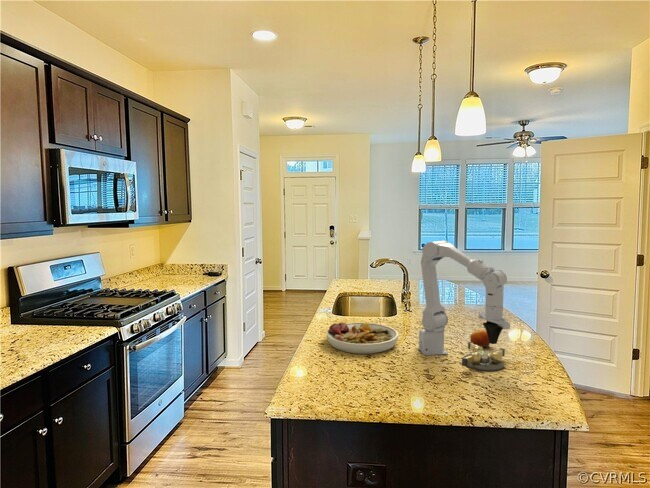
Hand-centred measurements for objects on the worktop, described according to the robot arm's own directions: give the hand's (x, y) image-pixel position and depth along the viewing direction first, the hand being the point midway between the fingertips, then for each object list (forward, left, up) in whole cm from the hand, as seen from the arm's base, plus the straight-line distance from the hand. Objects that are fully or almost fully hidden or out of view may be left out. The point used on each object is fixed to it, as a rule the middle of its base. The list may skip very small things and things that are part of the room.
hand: (493, 343), depth 145 cm
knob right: (+5, +5, -8) cm, 10 cm away
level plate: (-1, +5, -9) cm, 11 cm away
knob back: (-1, +12, -8) cm, 15 cm away
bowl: (-41, +33, -10) cm, 53 cm away
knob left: (-7, +2, -8) cm, 11 cm away
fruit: (+7, +24, -10) cm, 26 cm away
